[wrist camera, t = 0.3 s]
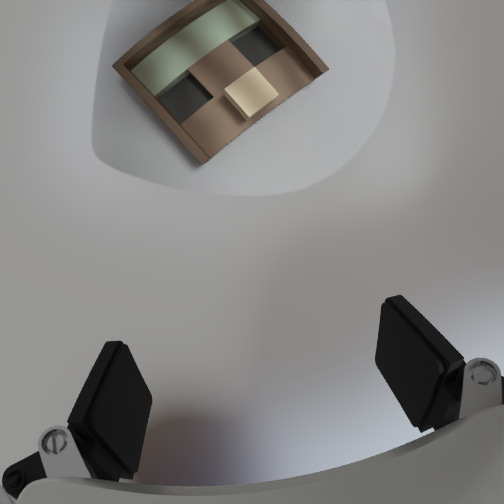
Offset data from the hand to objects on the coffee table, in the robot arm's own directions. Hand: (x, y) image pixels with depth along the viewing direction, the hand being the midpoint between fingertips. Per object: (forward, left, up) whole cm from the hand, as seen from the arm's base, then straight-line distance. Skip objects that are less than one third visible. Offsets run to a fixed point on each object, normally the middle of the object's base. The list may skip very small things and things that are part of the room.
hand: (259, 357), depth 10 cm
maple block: (-9, -9, -26) cm, 29 cm away
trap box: (-9, -15, -29) cm, 34 cm away
